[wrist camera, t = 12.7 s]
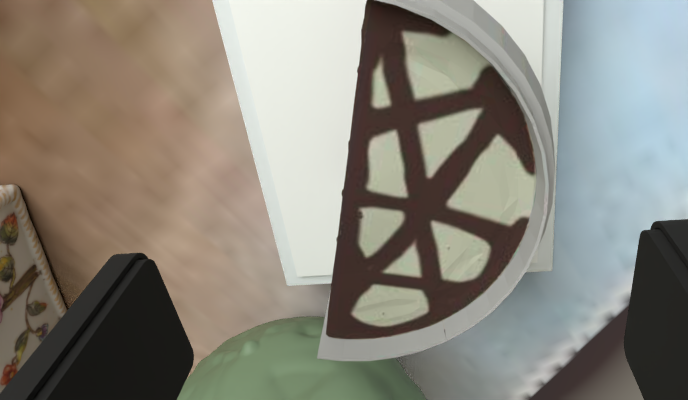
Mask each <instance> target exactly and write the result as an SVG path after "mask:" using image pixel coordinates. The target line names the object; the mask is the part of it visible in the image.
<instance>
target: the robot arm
mask: <svg viewBox="0 0 688 400" xmlns="http://www.w3.org/2000/svg"><path fill="white" fill-rule="evenodd" d="M624 349H625V354H626V358H627V361H628V363H629V366H630V368H631V370H632V372H633V375H634V377H635V379H636V382H637V384H638V386H639V389H640V391H641V393H642V396H643V398H644V400H688V219H684V220H668V221H656V222H654V223H653V224H652V226H651V229H650V230H644V231H642V232H641V234H640V238H639V245H638V251H637V258H636V264H635V271H634V277H633V284H632V291H631V297H630V304H629V310H628V317H627V323H626V330H625V336H624ZM193 360H194V354H193V349H192V347H191V344H190V342H189V340H188V337H187V335H186V333H185V330H184V328H183V326H182V324H181V321H180V319H179V317H178V314H177V312H176V310H175V307H174V305H173V303H172V300H171V298H170V296H169V293H168V291H167V289H166V286H165V284H164V282H163V280H162V277H161V275H160V273H159V270H158V268H157V266H156V264H155V262H154V261H153V260H151V259H148V257H147V256H146V255H145V254H143V253H129V254H116V255H113V256H112V257H111V258H110V259H109V260H108V261H107V262H106V264H105V265H104V266H103V267H102V269H101V270H100V271H99V272H98V274H97V275H96V276H95V277H94V278H93V280H92V281H91V282H90V283H89V285H88V286H87V287H86V288H85V289H84V291H83V292H82V293H81V294H80V296H79V297H78V298H77V299H76V301H75V302H74V303H73V304H72V305H71V307H70V308H69V309H68V310H67V312H66V313H65V314H64V315H63V317H62V318H61V319H60V320H59V321H58V323H57V324H56V325H55V326H54V328H53V329H52V330H51V331H50V333H49V334H48V335H47V336H46V337H45V339H44V340H43V341H42V342H41V344H40V345H39V346H38V347H37V349H36V350H35V351H34V352H33V353H32V355H31V356H30V357H29V358H28V360H27V361H26V362H25V363H24V365H23V366H22V367H21V368H20V369H19V371H18V372H17V373H16V374H15V376H14V377H13V378H12V379H11V381H10V382H9V383H8V384H7V385H6V387H5V388H4V389H3V390H2V392H1V393H0V400H177V398H178V396H179V394H180V392H181V390H182V387H183V385H184V383H185V381H186V379H187V377H188V375H189V372H190V370H191V368H192V365H193Z"/></svg>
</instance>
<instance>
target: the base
mask: <svg viewBox="0 0 688 400" xmlns="http://www.w3.org/2000/svg"><path fill="white" fill-rule="evenodd" d="M212 1H213V5H214V8H215V12H216V16H217V20H218V24H219V27H220V31H221V35H222V39H223V43H224V46H225V50H226V54H227V58H228V62H229V66H230V69H231V73H232V77H233V81H234V85H235V88H236V92H237V96H238V100H239V104H240V107H241V111H242V115H243V119H244V123H245V126H246V130H247V134H248V138H249V142H250V146H251V149H252V153H253V157H254V161H255V165H256V168H257V172H258V176H259V180H260V184H261V187H262V191H263V195H264V199H265V203H266V206H267V210H268V214H269V218H270V222H271V226H272V229H273V233H274V237H275V241H276V245H277V248H278V252H279V256H280V260H281V264H282V267H283V271H284V275H285V279H286V283H287V286H293V285H310V284H328V283H332V275H333V267H334V260H335V253H336V246H337V241H336V238H337V237H338V230H339V222H340V213H341V204H342V194H341V193H342V190H343V189H344V181H345V173H346V166H347V158H348V142H349V140H350V133H351V124H352V115H353V107H354V99H355V91H356V84H357V76H358V73H357V69H358V66H359V60H360V51H361V29H362V24H363V20H364V14H365V5H366V1H367V0H212ZM474 1H475V2H476V3H477V4H478V5H479V6H481V7H482V8H483V9H484V10H485V11H486V12H487V13H488V14H489V15H491V16H492V17H493V18H494V19H495V20H496V21H497V22H498V23H500V24H501V25H502V26H503V28H504V29H505V30H506V31H507V33H508V34H509V35H510V37H511V38H512V39H513V40H514V42H515V43H516V44H517V45H518V47H519V48H520V49H521V51H522V52H523V53H524V54H525V56H526V58H527V60H528V62H529V64H530V66H531V68H532V70H533V72H534V73H535V75H536V77H537V79H538V81H539V83H540V85H541V88H542V91H543V94H544V98H545V101H546V104H547V107H548V111H549V114H550V117H551V126H552V134H553V143H554V158H555V179H554V192H553V204H552V208H551V211H550V215H549V219H548V223H547V226H546V230H545V233H544V235H543V237H542V239H541V242H540V244H539V246H538V248H537V250H536V252H535V254H534V257H533V259H532V261H531V263H530V265H529V267H528V269H527V271H526V272H541V271H552V265H553V241H554V216H555V192H556V168H557V143H558V119H559V94H560V70H561V46H562V21H563V0H474Z"/></svg>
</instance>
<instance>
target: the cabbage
mask: <svg viewBox="0 0 688 400" xmlns="http://www.w3.org/2000/svg"><path fill="white" fill-rule="evenodd" d="M324 319H325V317H295V318H288V319H280V320H275V321H271V322H268V323H265V324H262V325H259V326H256V327H254V328H252V329H249V330H247V331H245V332H243V333H241V334H239V335H237V336H235V337H232V338H230V339H228V340H227V341H225V342H224V343H223V344H222V345H220V346H219V347H218V348H217V349H216V350H215V351H213V352H212V353H211V354H210V355H209V356H207V357H206V358H204V359H203V360H202V361H200V362H199V363H198V365H197V366H196V368H195V370H194V372H193V373H192V374H191V375H190V376H189V377H188V379H186V381H185V383H184V385H183V387H182V390H181V392H180V394H179V396H178V398H177V400H427V399H426V398H425V396H424V394H423V393H422V391H421V390H420V389H419V387H418V386H417V385H416V384H415V383H414V382H413V381H412V380H411V379H410V378H409V377H408V375H407V374H406V373H405V371H404V369H403V367H402V366H401V364H400V363H399V361H398V360H397V359H396V358H389V359H381V360H373V361H335V360H326V359H317V355H318V350H319V345H320V340H321V335H322V329H323V324H324Z"/></svg>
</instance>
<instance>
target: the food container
mask: <svg viewBox="0 0 688 400" xmlns="http://www.w3.org/2000/svg"><path fill="white" fill-rule="evenodd" d="M357 73H358V76H357V84H356V91H355V99H354V107H353V115H352V124H351V133H350V140H349V142H348V158H347V166H346V173H345V181H344V189H343V190H342V193H341V194H342V204H341V213H340V222H339V230H338V237H337V238H336V241H337V246H336V253H335V260H334V267H333V275H332V283H331V289H330V294H329V299H328V304H327V309H326V314H325V319H324V324H323V329H322V335H321V340H320V345H319V350H318V355H317V359H326V360H335V361H373V360H381V359H389V358H397V357H401V356H404V355H408V354H412V353H416V352H420V351H424V350H426V349H429V348H431V347H434V346H436V345H439V344H442V343H444V342H447V341H449V340H450V339H452V338H454V337H456V336H458V335H459V334H461V333H463V332H465V331H467V330H468V329H470V328H472V327H473V326H474V325H476V324H477V323H478V322H480V321H481V320H482V319H484V318H485V317H486V316H488V315H489V314H490V313H491V312H493V311H494V310H495V309H496V308H497V307H498V306H499V305H500V304H501V302H502V301H503V300H504V299H505V298H506V297H507V296H508V295H509V294H510V293H511V292H512V291H513V289H514V288H515V286H516V285H517V284H518V282H519V281H520V279H521V278H522V276H523V275H524V274H525V272H526V271H527V269H528V267H529V265H530V263H531V261H532V259H533V257H534V254H535V252H536V250H537V248H538V246H539V244H540V242H541V239H542V237H543V235H544V233H545V230H546V226H547V223H548V219H549V215H550V211H551V208H552V204H553V192H554V179H555V158H554V143H553V134H552V126H551V117H550V114H549V111H548V107H547V104H546V101H545V98H544V94H543V91H542V88H541V85H540V83H539V81H538V79H537V77H536V75H535V73H534V72H533V70H532V68H531V66H530V64H529V62H528V60H527V58H526V56H525V54H524V53H523V52H522V51H521V49H520V48H519V47H518V45H517V44H516V43H515V42H514V40H513V39H512V38H511V37H510V35H509V34H508V33H507V31H506V30H505V29H504V28H503V26H502V25H501V24H500V23H498V22H497V21H496V20H495V19H494V18H493V17H492V16H491V15H489V14H488V13H487V12H486V11H485V10H484V9H483V8H482V7H481V6H479V5H478V4H477V3H476V2H475V1H474V0H367V1H366V5H365V14H364V20H363V24H362V29H361V51H360V60H359V66H358V69H357Z"/></svg>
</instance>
